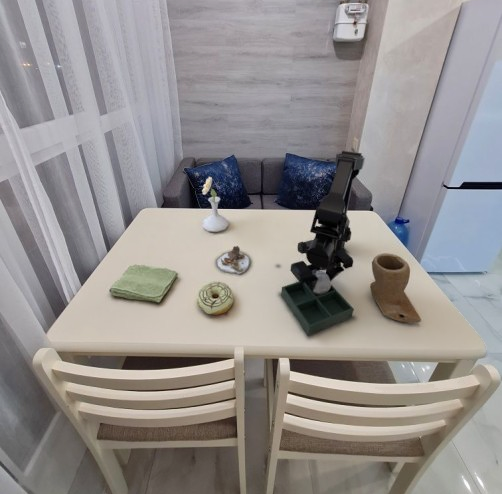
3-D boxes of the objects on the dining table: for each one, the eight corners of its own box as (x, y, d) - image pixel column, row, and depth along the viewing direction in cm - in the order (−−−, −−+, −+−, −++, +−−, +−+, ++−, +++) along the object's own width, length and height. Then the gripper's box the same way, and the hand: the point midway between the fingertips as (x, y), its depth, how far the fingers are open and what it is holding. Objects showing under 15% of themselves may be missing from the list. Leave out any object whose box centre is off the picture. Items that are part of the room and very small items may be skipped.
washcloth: (161, 306, 78) (159, 298, 76) (107, 297, 80) (105, 289, 79) (180, 274, 89) (179, 267, 88) (132, 267, 92) (130, 260, 91)
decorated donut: (207, 323, 72) (206, 314, 71) (192, 298, 80) (191, 288, 79) (239, 306, 78) (239, 297, 76) (222, 283, 86) (221, 274, 84)
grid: (320, 281, 87) (321, 274, 86) (351, 317, 75) (354, 309, 73) (281, 295, 82) (281, 286, 80) (308, 335, 69) (309, 327, 68)
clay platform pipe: (359, 283, 87) (368, 246, 80) (396, 285, 86) (409, 248, 80) (376, 323, 73) (388, 283, 67) (420, 326, 72) (437, 286, 66)
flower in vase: (207, 219, 122) (203, 168, 111) (231, 221, 120) (229, 170, 110) (198, 235, 110) (193, 180, 99) (224, 237, 109) (222, 182, 98)
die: (329, 292, 80) (332, 280, 78) (315, 296, 79) (317, 283, 77) (321, 281, 85) (323, 269, 82) (307, 284, 83) (309, 272, 81)
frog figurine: (222, 249, 102) (222, 241, 100) (252, 254, 99) (252, 246, 98) (212, 270, 91) (211, 261, 90) (246, 275, 89) (246, 266, 88)
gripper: (333, 224, 85) (327, 262, 91) (282, 237, 78) (279, 277, 85) (358, 243, 75) (349, 284, 82) (303, 260, 69) (298, 303, 75)
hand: (318, 286), depth 81 cm, fingers closed on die, 5 cm apart
